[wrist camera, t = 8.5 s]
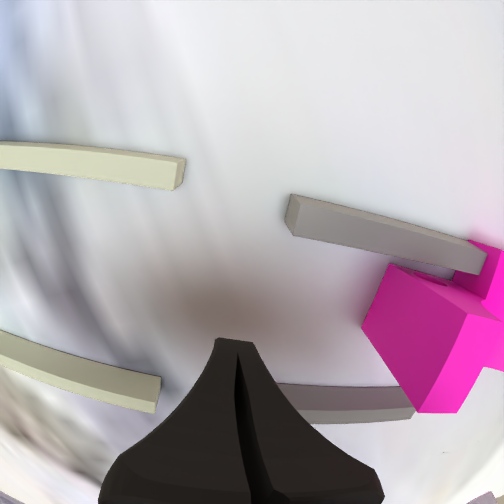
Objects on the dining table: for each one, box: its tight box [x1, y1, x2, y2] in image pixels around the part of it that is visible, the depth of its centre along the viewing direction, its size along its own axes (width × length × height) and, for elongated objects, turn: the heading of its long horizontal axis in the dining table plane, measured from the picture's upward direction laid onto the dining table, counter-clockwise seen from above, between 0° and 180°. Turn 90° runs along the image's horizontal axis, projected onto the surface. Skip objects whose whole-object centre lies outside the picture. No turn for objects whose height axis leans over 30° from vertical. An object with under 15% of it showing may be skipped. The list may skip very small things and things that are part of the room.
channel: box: [276, 194, 488, 424], centre depth 15 cm, size 11×18×2 cm, turn 78°
